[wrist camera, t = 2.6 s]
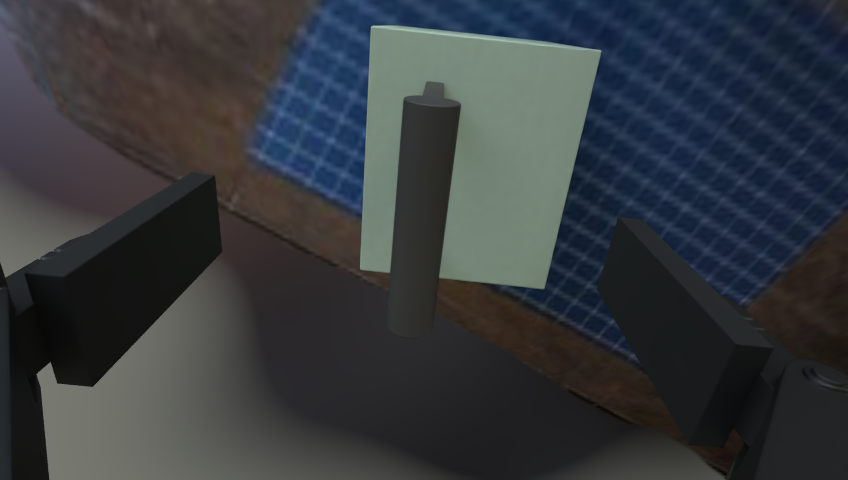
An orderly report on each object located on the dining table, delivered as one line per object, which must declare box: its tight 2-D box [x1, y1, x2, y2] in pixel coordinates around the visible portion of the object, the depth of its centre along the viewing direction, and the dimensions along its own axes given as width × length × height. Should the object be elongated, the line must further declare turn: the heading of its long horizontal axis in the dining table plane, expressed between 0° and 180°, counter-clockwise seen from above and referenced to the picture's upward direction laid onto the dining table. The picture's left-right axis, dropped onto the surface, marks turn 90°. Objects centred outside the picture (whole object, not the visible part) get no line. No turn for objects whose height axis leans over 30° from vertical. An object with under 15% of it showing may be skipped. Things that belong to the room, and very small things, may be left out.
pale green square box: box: [360, 25, 601, 338], centre depth 24 cm, size 20×12×10 cm
